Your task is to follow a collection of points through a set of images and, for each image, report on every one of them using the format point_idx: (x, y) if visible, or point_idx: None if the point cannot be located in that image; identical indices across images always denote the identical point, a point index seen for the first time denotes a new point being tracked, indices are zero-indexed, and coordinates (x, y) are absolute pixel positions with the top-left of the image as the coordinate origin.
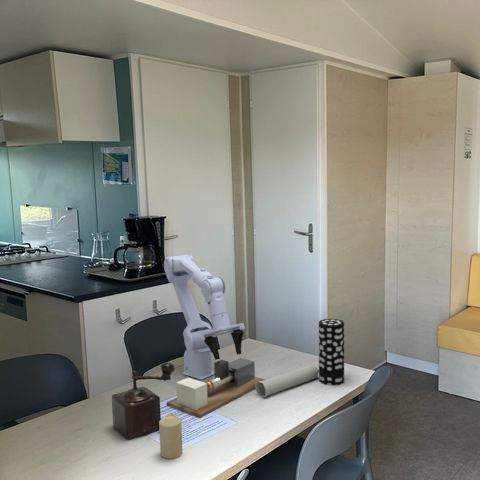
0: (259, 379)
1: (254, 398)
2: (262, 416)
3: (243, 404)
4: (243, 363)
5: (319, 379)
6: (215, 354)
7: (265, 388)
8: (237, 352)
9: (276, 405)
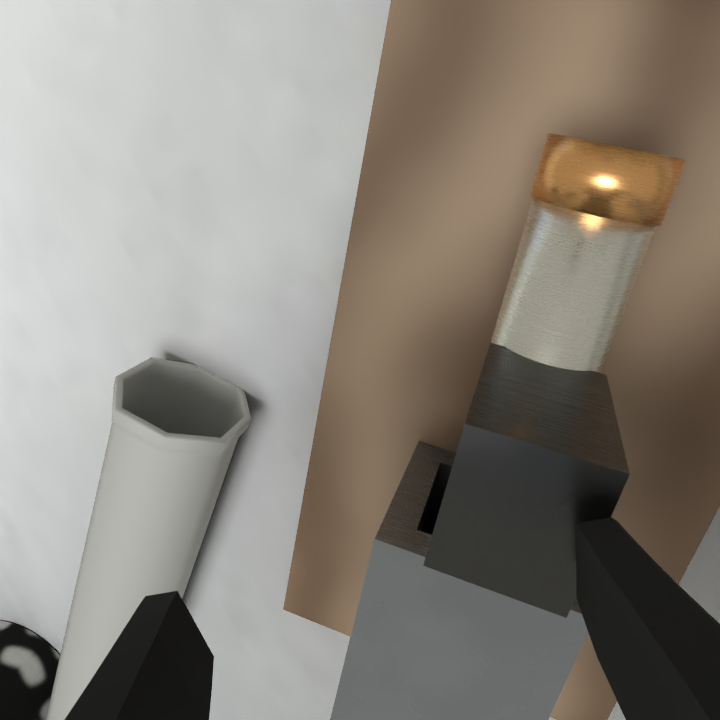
0: (335, 610)
1: (237, 334)
2: (35, 68)
3: (251, 199)
4: (393, 695)
5: (54, 666)
6: (621, 591)
7: (116, 382)
8: (142, 622)
9: (63, 282)
